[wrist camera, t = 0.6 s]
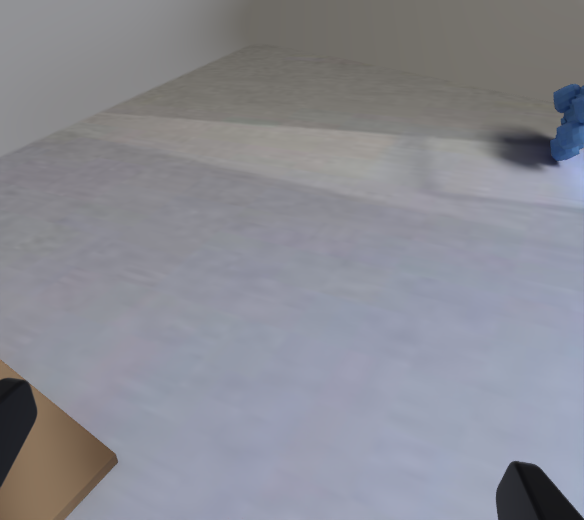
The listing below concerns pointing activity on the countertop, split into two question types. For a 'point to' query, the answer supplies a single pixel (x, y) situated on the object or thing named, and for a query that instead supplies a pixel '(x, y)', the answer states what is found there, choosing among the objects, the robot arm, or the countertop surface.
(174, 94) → the countertop surface
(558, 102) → the grapes
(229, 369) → the countertop surface
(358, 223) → the countertop surface
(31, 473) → the walnut board
